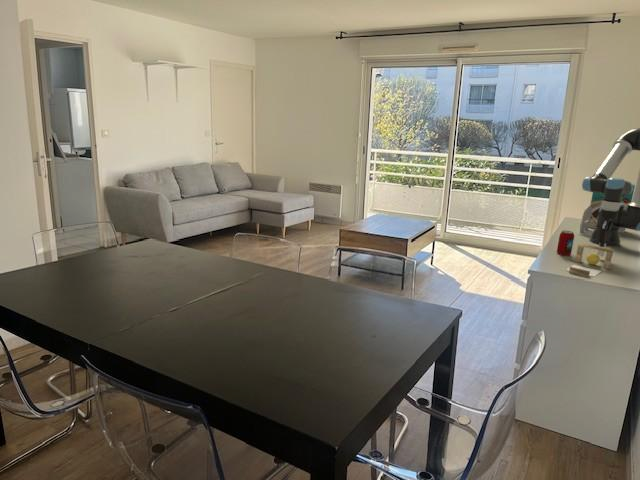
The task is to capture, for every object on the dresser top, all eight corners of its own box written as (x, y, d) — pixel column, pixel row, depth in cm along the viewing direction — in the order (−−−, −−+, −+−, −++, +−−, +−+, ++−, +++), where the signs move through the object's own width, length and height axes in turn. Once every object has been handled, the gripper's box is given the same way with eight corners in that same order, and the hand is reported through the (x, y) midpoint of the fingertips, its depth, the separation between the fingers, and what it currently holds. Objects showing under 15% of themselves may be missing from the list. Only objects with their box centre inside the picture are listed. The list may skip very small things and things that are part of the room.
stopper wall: (569, 271, 222) (570, 266, 221) (589, 276, 217) (590, 270, 216) (568, 272, 221) (569, 267, 220) (588, 277, 216) (589, 271, 215)
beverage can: (570, 256, 246) (574, 234, 243) (555, 254, 250) (559, 231, 246) (571, 254, 252) (575, 231, 249) (557, 251, 255) (561, 229, 252)
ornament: (588, 229, 312) (593, 203, 308) (611, 233, 303) (616, 207, 299) (577, 234, 296) (582, 207, 292) (601, 239, 288) (607, 211, 283)
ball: (586, 263, 238) (589, 252, 238) (598, 266, 235) (601, 255, 235) (584, 262, 234) (587, 251, 234) (596, 265, 231) (599, 254, 230)
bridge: (576, 260, 240) (580, 242, 238) (609, 267, 231) (613, 249, 229) (574, 261, 238) (578, 243, 236) (607, 269, 229) (611, 250, 226)
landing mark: (573, 265, 232) (573, 264, 232) (601, 271, 225) (601, 271, 225) (565, 270, 224) (565, 269, 224) (594, 277, 216) (594, 276, 216)
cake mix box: (586, 227, 318) (594, 181, 310) (586, 225, 323) (595, 180, 315) (624, 232, 307) (634, 185, 299) (624, 230, 312) (634, 184, 304)
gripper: (604, 206, 245) (595, 251, 252) (598, 209, 236) (588, 256, 242) (621, 209, 241) (611, 254, 247) (615, 212, 231) (605, 259, 237)
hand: (600, 255), depth 245 cm, fingers closed
